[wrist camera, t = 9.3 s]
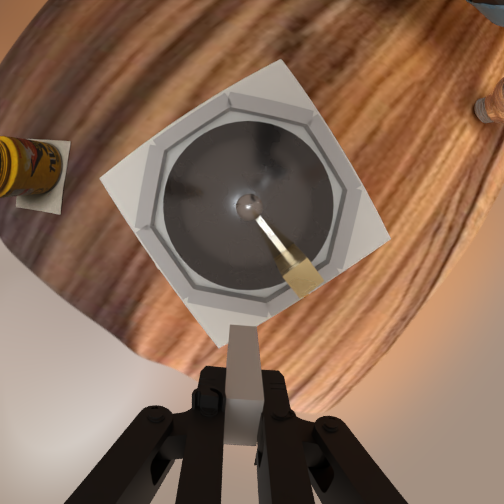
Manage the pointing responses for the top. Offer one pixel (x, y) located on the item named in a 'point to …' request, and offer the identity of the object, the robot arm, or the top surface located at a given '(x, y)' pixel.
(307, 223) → the dial
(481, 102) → the light bulb
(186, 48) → the top surface
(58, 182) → the condiment
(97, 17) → the top surface
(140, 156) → the dial base
